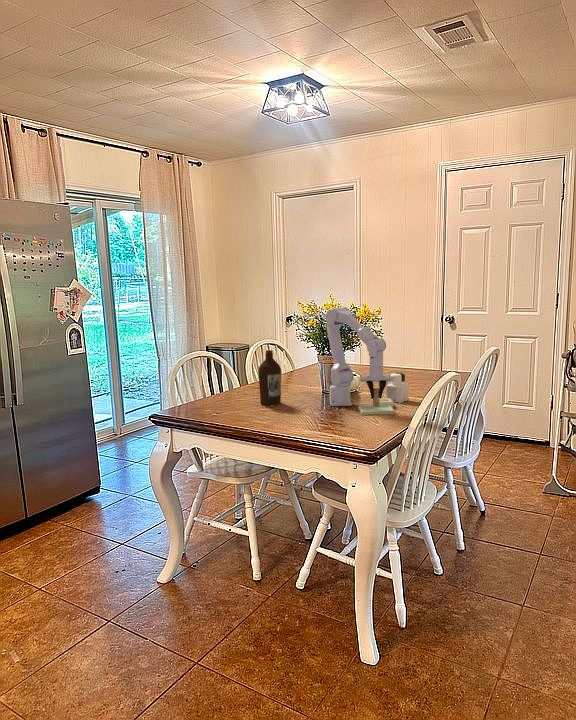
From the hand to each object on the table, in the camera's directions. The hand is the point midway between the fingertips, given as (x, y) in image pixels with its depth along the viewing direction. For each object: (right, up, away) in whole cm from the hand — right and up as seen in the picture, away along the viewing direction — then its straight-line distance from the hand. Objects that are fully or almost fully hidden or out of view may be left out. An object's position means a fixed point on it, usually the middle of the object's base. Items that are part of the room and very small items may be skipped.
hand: (376, 398), depth 231 cm
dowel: (0, -3, +1) cm, 3 cm away
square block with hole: (+5, -4, +10) cm, 12 cm away
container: (+13, -3, +20) cm, 25 cm away
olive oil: (-46, -4, +20) cm, 50 cm away
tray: (0, -6, +1) cm, 6 cm away
